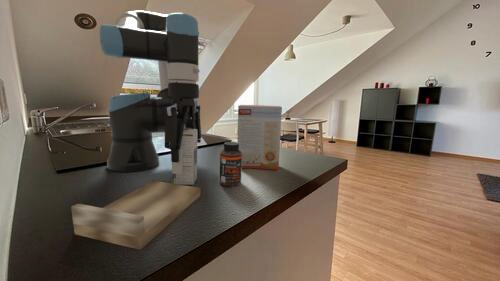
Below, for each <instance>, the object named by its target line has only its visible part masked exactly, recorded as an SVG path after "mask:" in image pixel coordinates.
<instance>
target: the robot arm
mask: <svg viewBox="0 0 500 281" xmlns="http://www.w3.org/2000/svg"><path fill="white" fill-rule="evenodd" d="M199 35H200V32H199V23H198V20H197V19H196V18H195V17H194V16H192V15H191V14H187V13H183V12H173V13H169V14H163V13H162V14H161V13H158V12H153V11H152V12H151V11H145V10H130V11H124V12H122V13H120V14H119V15H118V16H117V17H116V19H115V22H114V24H105V23H103V24H101V25H100V26H99V41H100V47H101V51H102V53H103V55H105V56H108V57H114V58H115V57H116V58H118V59H121V58H122V59H123V58H124V59H135V60H136V59H137V60H146V61H154V62H157V63H158V64H157V65H158V75H159V84H160V90H159V91H158V92H157V94H156V97H155V96H151V94H150V92H139V93H130V94H127V93H125V94H117V95H116V94H115V95H112V96H111V97H109V99H108V110H107V112H108V113H109V124H110V135H111V146H110V150H109V155H108V158H107V160H106V165H107V169H108V170H109V171H112V172H116V173H117V172H120V173H121V172H122V173H131V172H132V173H133V172H141V171H144V170H145V171H146V170H149V169H152V168H154V167H156V166H158V165H159V164H160V156H159V154H158V153H157V150H156V146H155V143H154V141H153V133H154V134H157V133H164V145H163V146H164V148H165V149H167V150H170V159H171V160H170V161H171V173H173V174H181V175H182V174H183V150H182V149H180V147H181V141H182V135H183V129H184V128H192V129H197V144H200V143H201V141H202V140H201V139H202V130H201V129H202V127H201V106H200V105H199V103H198V99H199V98H200V86H199V84H198V83H197V82H199V73H200V69H199ZM176 144H177V145H176Z"/></svg>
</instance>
